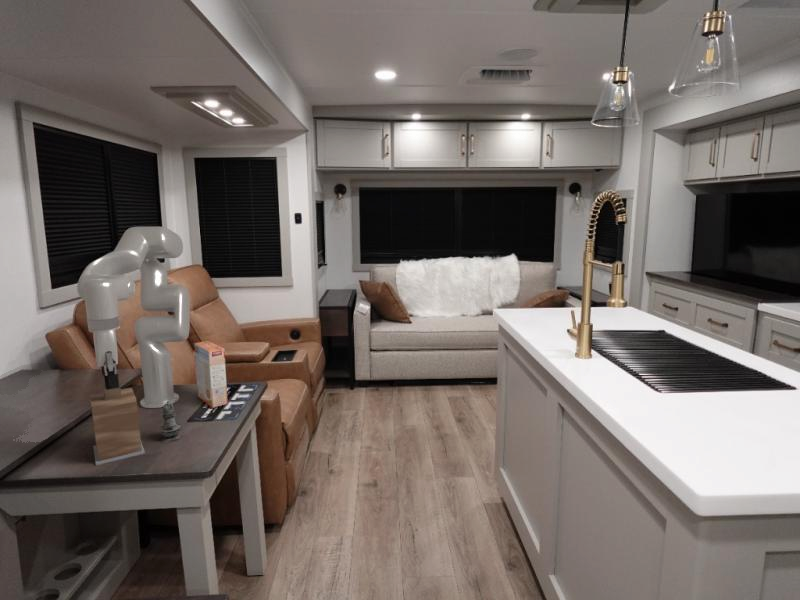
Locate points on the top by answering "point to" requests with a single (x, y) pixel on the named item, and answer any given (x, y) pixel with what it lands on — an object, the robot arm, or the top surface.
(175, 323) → the robot arm
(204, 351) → the cracker box
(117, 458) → the slate mat
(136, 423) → the walnut cover
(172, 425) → the grey ridged tall piece
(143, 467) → the top surface
